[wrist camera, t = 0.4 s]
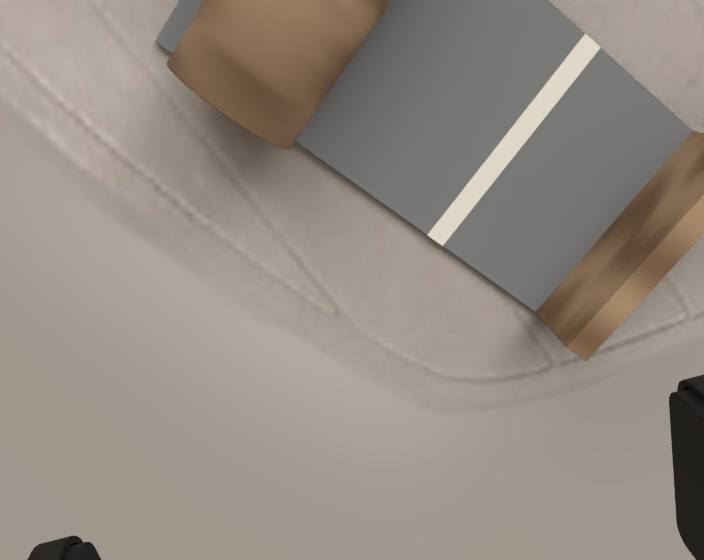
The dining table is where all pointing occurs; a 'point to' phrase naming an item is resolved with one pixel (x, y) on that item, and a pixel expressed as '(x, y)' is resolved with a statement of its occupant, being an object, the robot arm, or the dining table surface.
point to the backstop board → (631, 253)
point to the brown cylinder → (271, 58)
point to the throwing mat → (489, 132)
